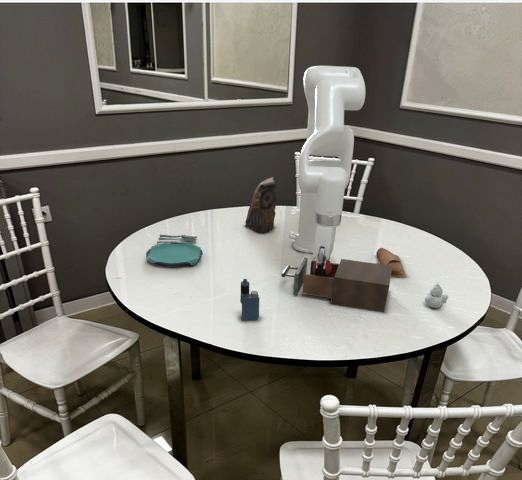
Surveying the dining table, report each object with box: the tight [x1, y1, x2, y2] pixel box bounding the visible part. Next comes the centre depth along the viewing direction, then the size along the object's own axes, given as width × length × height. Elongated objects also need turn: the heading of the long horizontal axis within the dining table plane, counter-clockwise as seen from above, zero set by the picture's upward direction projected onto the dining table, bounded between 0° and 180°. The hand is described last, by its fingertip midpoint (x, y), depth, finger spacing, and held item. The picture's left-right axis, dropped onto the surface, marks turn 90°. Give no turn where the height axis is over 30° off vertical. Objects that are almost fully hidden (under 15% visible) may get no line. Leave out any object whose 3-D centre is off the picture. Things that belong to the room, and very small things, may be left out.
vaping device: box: [239, 278, 260, 322], centre depth 129 cm, size 3×5×12 cm, turn 95°
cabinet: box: [330, 258, 392, 313], centre depth 143 cm, size 16×15×9 cm
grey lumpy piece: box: [424, 282, 449, 309], centre depth 140 cm, size 5×7×8 cm
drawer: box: [280, 256, 340, 299], centre depth 146 cm, size 20×14×7 cm
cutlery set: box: [145, 234, 204, 267], centre depth 171 cm, size 20×30×2 cm, turn 2°
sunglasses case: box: [376, 247, 406, 278], centre depth 166 cm, size 18×7×7 cm
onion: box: [313, 257, 332, 277], centre depth 144 cm, size 6×6×8 cm
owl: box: [244, 176, 278, 235], centre depth 191 cm, size 13×13×20 cm
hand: (321, 275), depth 145 cm, fingers closed on onion, 6 cm apart
